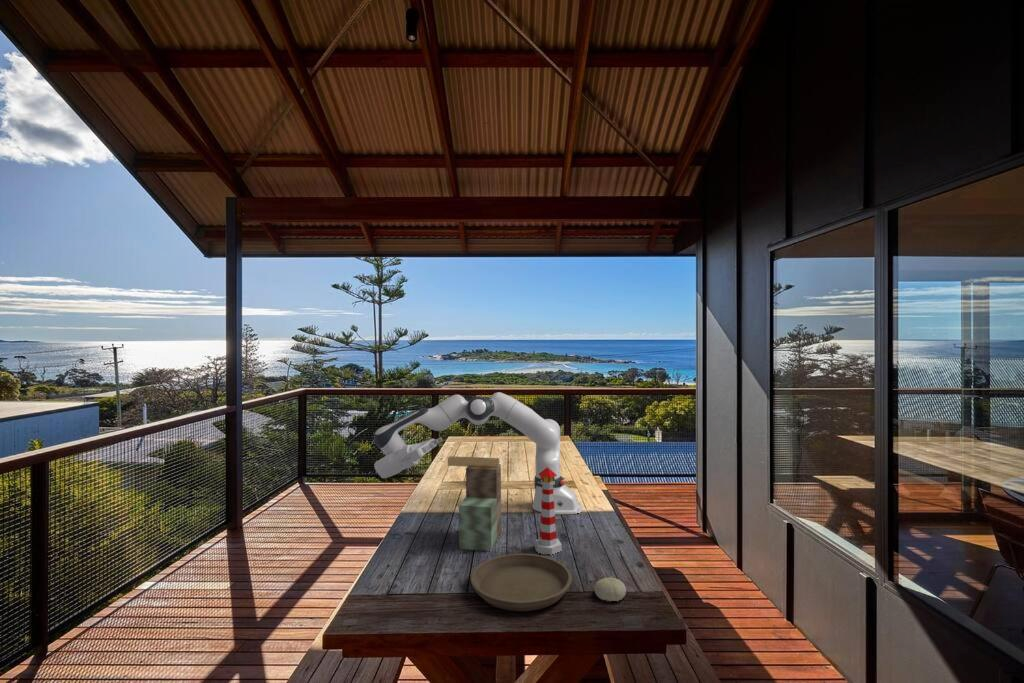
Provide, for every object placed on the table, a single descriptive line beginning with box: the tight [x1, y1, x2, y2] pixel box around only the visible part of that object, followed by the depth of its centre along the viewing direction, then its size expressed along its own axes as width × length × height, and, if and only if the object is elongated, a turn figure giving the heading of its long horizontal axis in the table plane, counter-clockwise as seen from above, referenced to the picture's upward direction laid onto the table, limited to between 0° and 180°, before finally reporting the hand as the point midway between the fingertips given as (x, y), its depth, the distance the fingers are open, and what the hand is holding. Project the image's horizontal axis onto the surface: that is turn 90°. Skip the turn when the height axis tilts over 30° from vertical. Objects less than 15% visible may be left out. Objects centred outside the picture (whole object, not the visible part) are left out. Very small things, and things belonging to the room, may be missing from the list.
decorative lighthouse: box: [533, 467, 563, 556], centre depth 187 cm, size 10×9×30 cm
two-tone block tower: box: [458, 463, 502, 551], centre depth 196 cm, size 12×18×27 cm, turn 170°
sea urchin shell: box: [593, 576, 627, 602], centre depth 154 cm, size 9×8×8 cm
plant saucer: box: [470, 553, 573, 612], centre depth 159 cm, size 31×31×5 cm
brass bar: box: [447, 455, 500, 468], centre depth 201 cm, size 20×3×3 cm, turn 80°
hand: (438, 442), depth 213 cm, fingers open, 8 cm apart
